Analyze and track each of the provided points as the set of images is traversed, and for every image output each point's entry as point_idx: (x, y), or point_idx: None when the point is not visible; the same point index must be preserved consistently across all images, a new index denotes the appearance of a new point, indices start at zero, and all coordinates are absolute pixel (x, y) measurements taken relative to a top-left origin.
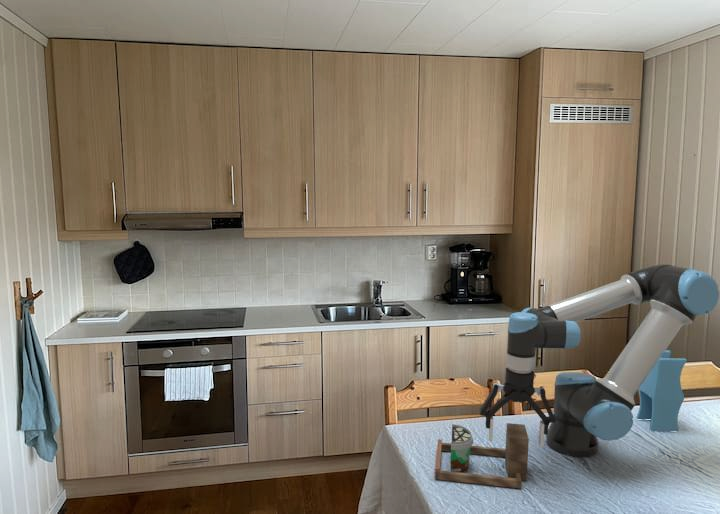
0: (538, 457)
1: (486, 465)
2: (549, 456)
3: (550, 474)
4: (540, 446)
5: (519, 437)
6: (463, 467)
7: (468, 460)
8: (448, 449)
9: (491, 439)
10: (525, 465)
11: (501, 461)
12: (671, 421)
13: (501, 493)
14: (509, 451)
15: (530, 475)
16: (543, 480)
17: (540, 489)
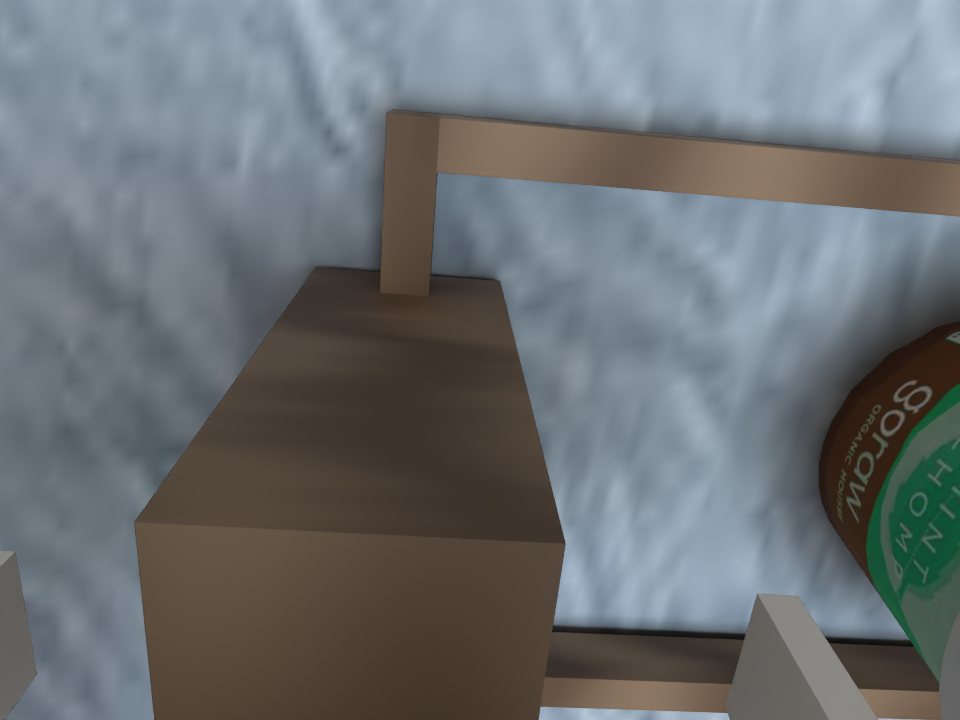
0: None
1: (647, 492)
2: (66, 692)
3: (73, 423)
4: (5, 554)
5: (340, 569)
6: (935, 363)
7: (889, 446)
8: None
9: (781, 615)
10: (304, 320)
11: None
12: None
13: (614, 7)
14: (521, 403)
15: None
16: (148, 312)
17: (192, 140)
